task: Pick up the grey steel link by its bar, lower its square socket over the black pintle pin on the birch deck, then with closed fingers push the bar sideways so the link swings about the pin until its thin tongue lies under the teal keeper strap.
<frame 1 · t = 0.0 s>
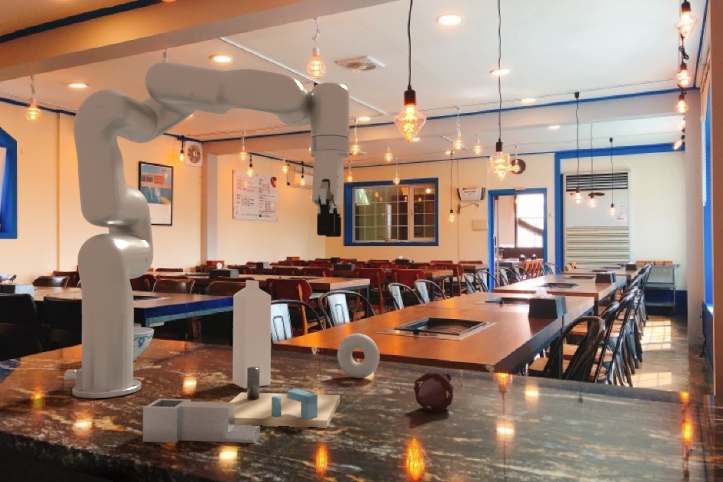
hand: (329, 236, 110), 31 cm above the counter, fingers open, 9 cm apart
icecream: (434, 411, 101), on the counter
deck: (280, 412, 99), on the counter
milk: (251, 385, 120), on the counter
link: (257, 439, 85), on the counter
chinaware: (122, 361, 145), on the counter
donut: (358, 379, 126), on the counter
keeper: (293, 408, 93), resting on deck
pintle: (253, 383, 104), on the deck, point 4 cm above the counter
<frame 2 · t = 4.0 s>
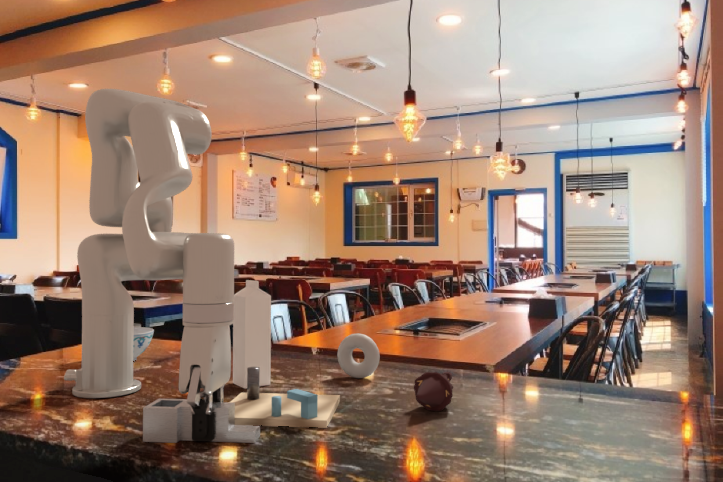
hand: (207, 435, 85), 0 cm above the counter, fingers closed on link, 3 cm apart
link: (257, 439, 85), on the counter, touching gripper
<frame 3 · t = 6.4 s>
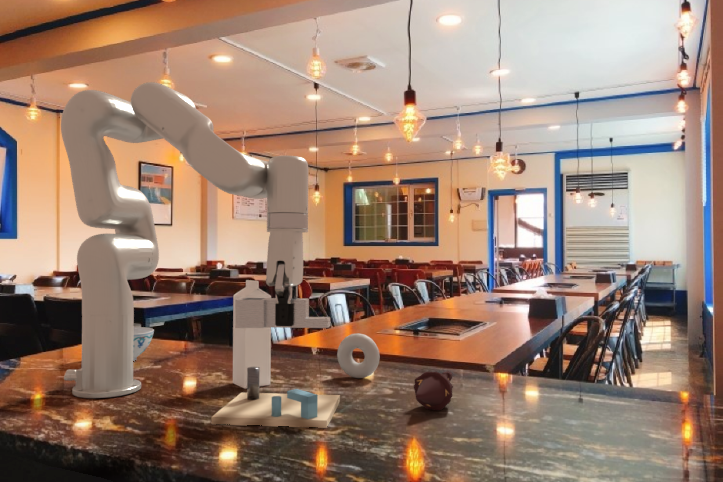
hand: (286, 323, 103), 15 cm above the counter, fingers closed on link, 3 cm apart
link: (329, 326, 103), point 15 cm above the counter, touching gripper
when the fingers open (2 cm above the counter, at t = 9.0 s): link stays where it is, resting on deck.
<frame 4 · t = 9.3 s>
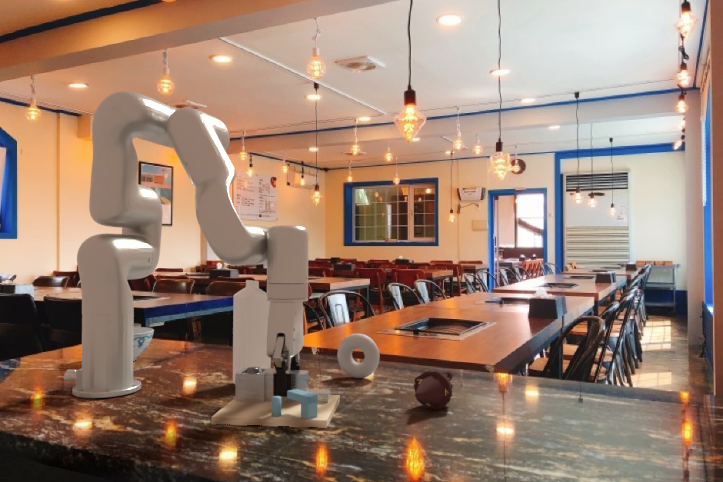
hand: (287, 390, 103), 3 cm above the counter, fingers open, 6 cm apart
link: (329, 400, 102), point 1 cm above the counter, touching deck
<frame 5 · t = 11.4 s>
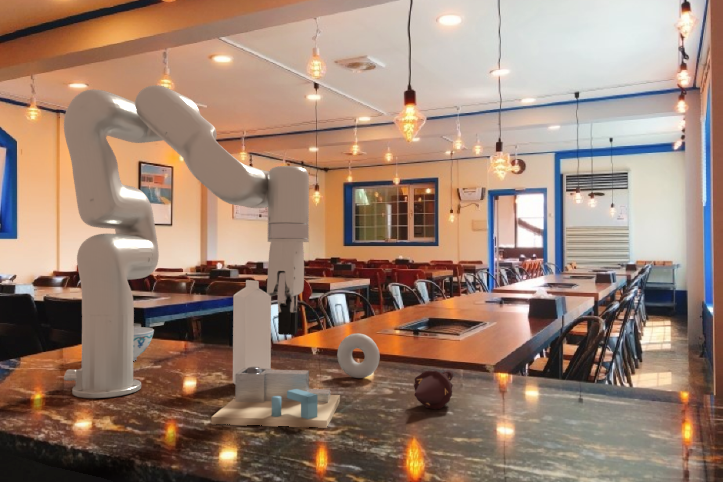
hand: (287, 333, 104), 13 cm above the counter, fingers closed
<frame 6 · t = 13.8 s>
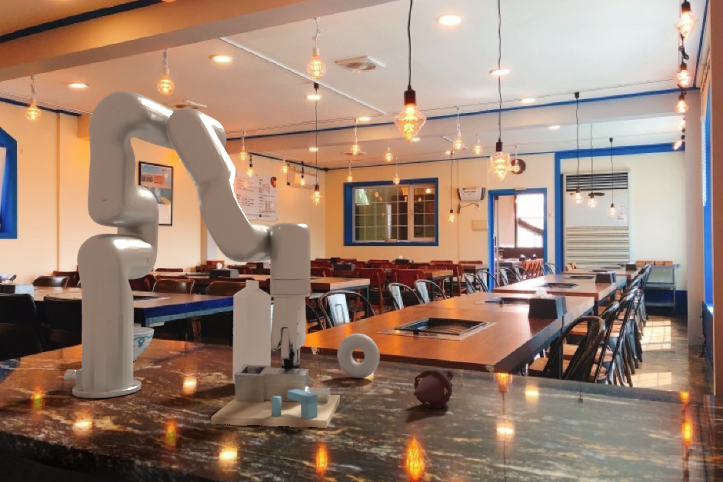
hand: (290, 386, 106), 3 cm above the counter, fingers closed
link: (329, 399, 102), point 1 cm above the counter, tilted 9°, touching deck, gripper, pintle
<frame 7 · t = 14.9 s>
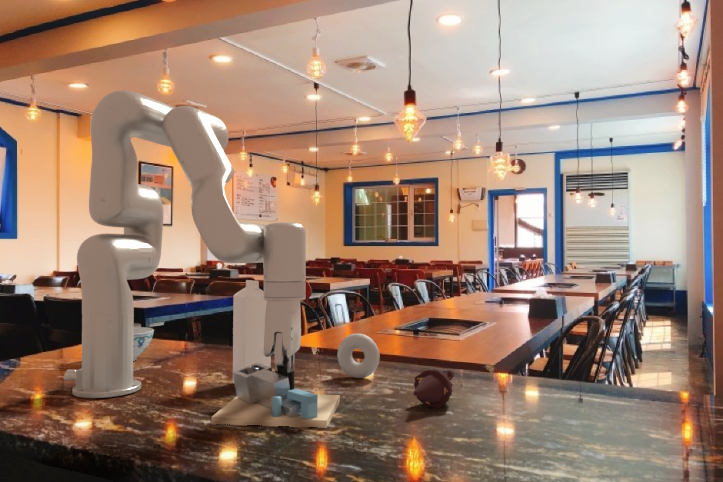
hand: (284, 393, 101), 3 cm above the counter, fingers closed
link: (298, 414, 93), point 2 cm above the counter, tilted 12°, touching deck, gripper, keeper, pintle
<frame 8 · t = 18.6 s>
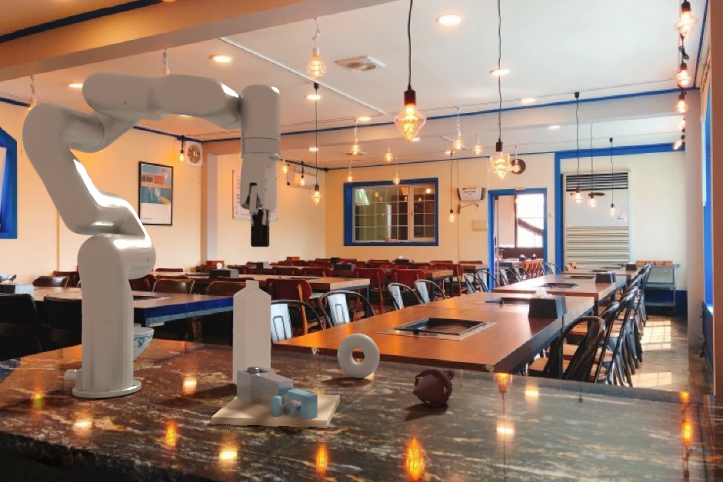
hand: (260, 246, 108), 29 cm above the counter, fingers closed
link: (298, 416, 93), point 1 cm above the counter, touching deck
at the end: link 1.2 cm from the target spot on the counter beside the pintle, point 1.2 cm above the counter; link 14.6 cm from the pintle (horizontally); link tilted 0° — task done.
